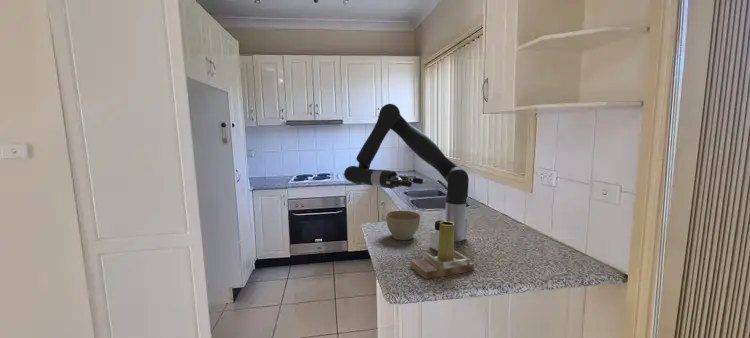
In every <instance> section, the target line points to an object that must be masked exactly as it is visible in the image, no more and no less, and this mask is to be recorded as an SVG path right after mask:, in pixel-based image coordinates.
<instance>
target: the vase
mask: <svg viewBox="0 0 750 338" xmlns="http://www.w3.org/2000/svg"><path fill="white" fill-rule="evenodd" d="M454 250H455V241H454V223H453V222H448V221H445V220H444V221H443V222H440V228H439V246H438V251H437V256H438V258H437V260H439V261H440V262H448V261H454Z"/></svg>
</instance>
